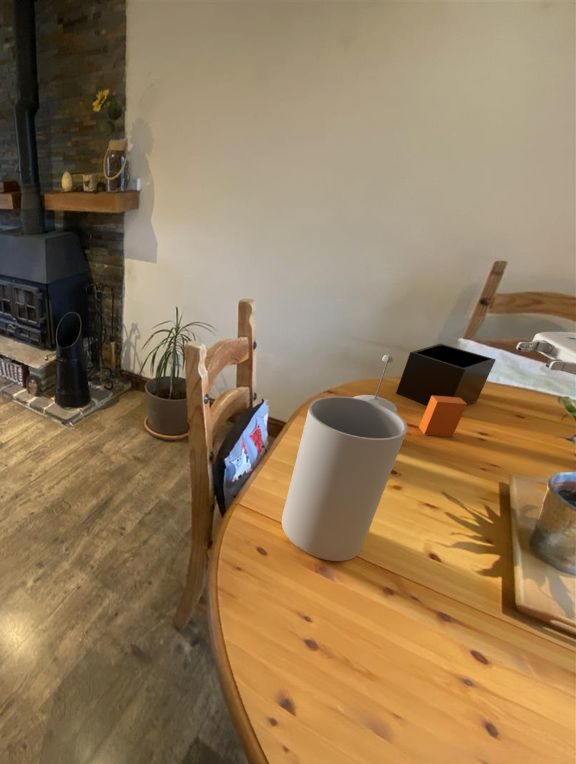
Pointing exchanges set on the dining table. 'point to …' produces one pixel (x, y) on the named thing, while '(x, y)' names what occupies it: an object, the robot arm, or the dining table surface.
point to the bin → (444, 374)
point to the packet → (442, 416)
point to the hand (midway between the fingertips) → (533, 355)
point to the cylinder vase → (340, 475)
